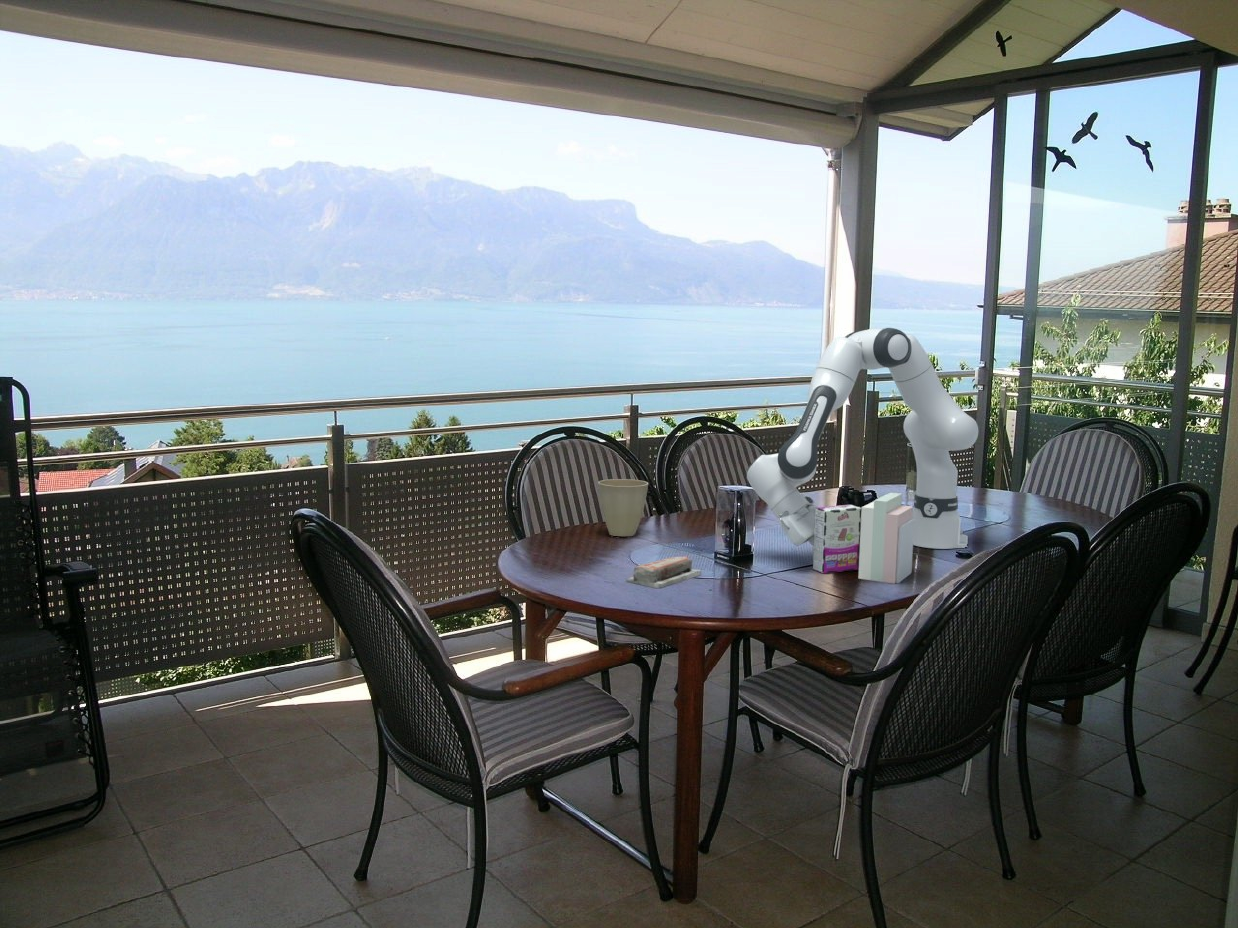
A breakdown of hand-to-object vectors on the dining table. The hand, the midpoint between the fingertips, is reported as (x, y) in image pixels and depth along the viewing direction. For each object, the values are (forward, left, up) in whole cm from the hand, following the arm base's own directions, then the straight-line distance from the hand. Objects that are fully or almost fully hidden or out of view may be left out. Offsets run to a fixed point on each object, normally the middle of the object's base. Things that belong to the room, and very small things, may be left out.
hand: (825, 550), depth 251 cm
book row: (0, +15, -4) cm, 16 cm away
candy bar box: (+2, +3, -4) cm, 6 cm away
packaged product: (+33, -29, -5) cm, 45 cm away
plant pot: (-4, -64, -5) cm, 64 cm away
